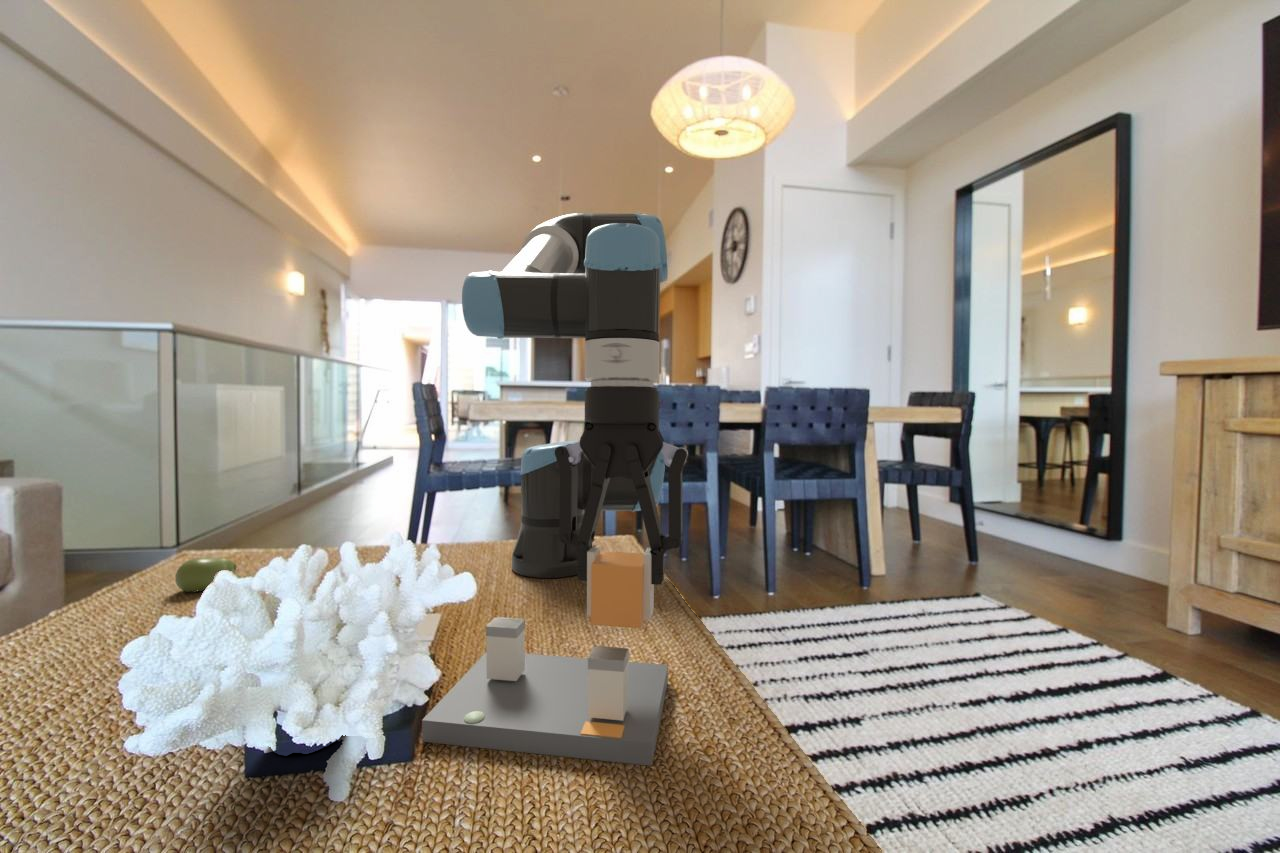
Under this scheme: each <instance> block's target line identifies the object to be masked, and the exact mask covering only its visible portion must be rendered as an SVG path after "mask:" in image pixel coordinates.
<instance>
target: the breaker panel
mask: <svg viewBox="0 0 1280 853" xmlns="http://www.w3.org/2000/svg"><path fill="white" fill-rule="evenodd" d="M668 677H669V665H668V664H663V663H662V664H661V663H649V662H636V661H628V707H627V710H626V713H625V716H624V720H623V721H622V720H611V719H601V718H590V717H588V690H589V669H588V657H585V658H584V657H573V656H559V655H549V654H534V653H525V670H524V671H523V673H522V674H521V676H520V677H519V678H518V680H517V681H508V680H497V679H487V653H486V652H485V653H484V654H483V655H482V656H481V657H480V658H479V659H478V660H477V661H476V662H475V663H474V664H473V665H472V666H471V667H470V668H469V670H467V672H466V673H465V674H463V676H462V677H461V678H460V679H459V680H458V681H457V682H456V683H455V684H454V686H453V687H452V688H451V689H450V690H449V691H448V692H447V693H446V694H445V695H444V696H443V697H442V698H441V700H439V701H438V703H436V705H435V706H434V707H433V708H432V709H431V710H430V711H429V712H428V713H427V714H426V715H425V717H423V719H421V733H422V734H421V736H422V738H421V740H422V742H424V743H433V744H441V745H451V746H462V747H470V748H481V749H489V750H499V751H508V752H515V753H516V752H517V753H527V754H528V753H529V754H535V755H544V756H545V755H546V756H555V757H562V758H563V757H565V758H573V759H574V758H575V759H583V760H594V761H602V762H603V761H604V762H612V763H619V764H620V763H623V764H629V765H638V766H639V765H641V766H650V767H652V766H653V761H654V757H655V751H656V746H657V741H658V740H657V739H658V736H659V731H660V725H661V720H662V714H663V709H664V704H665V700H666V693H667V689H668V688H667V687H668V682H669V678H668Z"/></svg>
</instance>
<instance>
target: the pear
mask: <svg viewBox="0 0 1280 853" xmlns="http://www.w3.org/2000/svg"><path fill="white" fill-rule="evenodd" d="M221 570H229V571H232V572H233V573H234V574H235V575H236V570H237V564H236V563H235V562H234V561H232V560H231V559H230V558H229V559H228V558H226V557H217V558H216V557H211V556H210V557H197V558H192V559H190V560H187V561H185V562H183V563H182V564H181V565H180V566H179V568H178V569H177V571H176V573H175V585H176V586H177V587H178V588H179V589H180V590H181V591H184V592H187V593H188V592H189V593H191V592H190V591H197V590H198V591H200V592H203V591H205V590H204V589H205V588H206V587H207V586H208V585H209V584H210V583H211V582H212V581H213V579H214V576H215V574H216V573H217V572H219V571H221Z"/></svg>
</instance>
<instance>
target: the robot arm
mask: <svg viewBox="0 0 1280 853" xmlns="http://www.w3.org/2000/svg"><path fill="white" fill-rule="evenodd" d="M665 236H666V235H665V231H664V227H663V223H662V221H661V219H660V218H659V217H658V216H656V215H653V214H641V213H637V212H633V213H588V212H587V213H585V212H584V213H583V212H576V213H569V214H564V215H561V216H558V217H557V216H556V217H554V218H552V219H549V220H546V221H544V222H542V223H541V224H538V225H536V227H535V228H533V229H532V230H530V231H529V232H528V234H527V235H526V236H525V238H524V240H523V243H522V245H521V250H520V252H519V253H518V254H517V255H516V256H515V257H513V259H512V260H511V261H510V262H509V263H508V264H507V265H506V266H505V267H504V268H503V270H501V271H493V270H487V271H477V272H475V271H474V272H470V273H469V274H468V275H467V276H466V277H465V279H464V282H463V286H462V290H461V307H462V314H463V319H464V323H465V325H466V327H467V330H468V331H469V332H470V333H472V334H473V335H474V336H476V337H487V338H488V337H489V338H497V339H498V340H502V339H516V338H518V339H519V338H520V339H524V338H525V339H528V338H531V339H532V338H534V339H536V338H537V339H542V338H545V339H549V338H552V339H553V338H561V339H585V340H584V380H585V381H586V382H587V383H588V382H589V383H590V387H586V390H584V430H583V432H582V434H581V436H580V438H579V440H566V441H558V442H552V443H551V442H550V443H545V444H544V443H543V444H538V445H535V446H534V445H533V446H530V447H528V448H526V449H525V450H524V451H523V452H522V454H521V461H520V471H519V476H520V528H519V531H518V535H517V537H516V541H515V543H514V548H513V551H512V553H511V558H510V559H511V571H513V572H514V573H516V574H518V575H520V576H524V577H530V578H537V579H538V578H539V579H551V578H552V579H555V578H564V577H571V576H575V575H577V577H578V581H582V582H583V581H584V582H586V617H591V564H592V563H593V562H594V561H595V559H596V558H597V557H598V556H599V555H600V553H601V545H594V544H593V543H594V542H595V540H596V539H595V536H596V532H597V528H598V525H599V520H600V516H601V512H602V511H605V512H606V511H607V512H609V511H611V512H613V511H614V512H617V511H618V512H620V511H621V512H631V513H634V512H641V516H642V520H643V524H644V528H645V532H646V536H647V540H648V543H649V547H646V549H645V550H644V554H643V563H644V581H643V620H644V621H651V620H652V617H653V613H654V605H655V604H654V603H655V601H654V600H655V585H656V586H657V585H660V586H661V585H662V583H663V580H664V579H665V569H666V568H665V564H666V563H665V562H666V561H665V556H666V554H665V553H666V552H667V551H669V550H671V549H678V548H680V546H681V544H682V540H683V535H684V534H683V533H684V532H683V530H684V528H683V527H684V525H683V521H684V520H683V518H684V517H683V513H684V512H683V511H684V510H683V504H684V503H683V469H684V468H685V467H684V466H685V464H686V462H687V459H688V456H689V450H688V449H687V447H685V446H681V447H679V446H675V445H673V444H671V443H667V442H665V440H664V437H663V436H662V434H661V431H660V391H659V390H658V388H657V387H654V383H658V381H659V380H660V366H661V365H660V361H661V360H660V356H661V355H660V352H661V350H660V349H661V348H660V347H661V342H660V311H661V310H660V307H661V306H660V305H661V283H665V282H666V281H668V280H667V279H668V277H669V276H668V274H669V273H668V272H669V271H668V269H669V268H668V253H667V243H666V237H665ZM666 467H668V468H669V469H668V534H664V531H663V528H662V523H661V520H660V516H659V515H660V514H659V512H658V508H657V507H658V505H659V503H660V500H661V497H662V496H661V494H662V491H663V486H664V485H663V484H664V479H665V471H666Z"/></svg>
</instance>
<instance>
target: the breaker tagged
mask: <svg viewBox="0 0 1280 853" xmlns="http://www.w3.org/2000/svg"><path fill="white" fill-rule="evenodd" d="M629 650H630V648H629V647H628V648H627V647H614V646H613V647H612V646H603V645H602V646H601V645H600V646H599V645H593V647H592V650H591V651H590V653H589V655H588V656H587V658H588V669H589V690H588V717H590V718H601V719H611V720H622V721H623V720H624V716H625V713H626V710H627V707H628V662H629V659H630V658H629V657H630V656H629V655H630V653H629Z"/></svg>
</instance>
